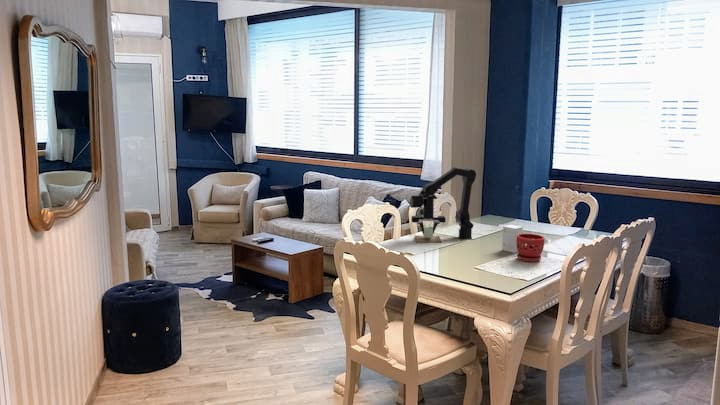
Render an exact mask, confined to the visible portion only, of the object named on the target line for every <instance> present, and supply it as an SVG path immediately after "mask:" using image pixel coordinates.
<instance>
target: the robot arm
mask: <svg viewBox="0 0 720 405" xmlns="http://www.w3.org/2000/svg"><path fill="white" fill-rule="evenodd" d="M457 176H461V178H462V184H463V185H462V192H461V199H460V207H459V209H458V210H456V211H455V217H454V218H455V221H456V223H458V226H459V229H458V237H459V238H460V239H461V240H462V239H463V240H464V239H465V240H466V239H468V240H469V239H471V240H472V239H473V238H472V229H473V228H474V224H473V223H472V221H471V220H470V219H471V218H470V217H471V216H470V210H469V209H470V208H469V206H470V200H471V194H472V186H473V184H474V182H475V181H476V178H477V172H476V171H475V170H474V169H471V168H467V167H466V168H464V169H463V168H458V167H451V169H450V170H447V171H446V172H445V173H444V174H442V175H441V176H439V177H438V178H437V179H435V180H434V181H433V180H432V181H430V182H427V183H425V184H424V185H422V188H421V190H420V192H419V194H418V195H410V199H409V206H410V208H411V209H413V208H419V215H420V216H421V217H420V216H419V215H411V219H410V220H411V223H417V225H419V226H420V228H421V229H420V230H421V231H422V235H423V234H424V229H423V227H424V222H426V221H427V222H428V221H429V222H433V225H432V227H433V235H434V234H435V231H436V228H437V227H438V225H440V223H446V217H445V215H437V216H434V210H435V208H434V207H435V206H434V201H435V200H437V199H438V197H437V196H436V192H438V190H439V189H440V188H441V187H442V186H443V185H445V184H447V182H449V181H451V180H452V179H454V178H455V177H457ZM422 207H423V208H422ZM423 221H424V222H423Z"/></svg>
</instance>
